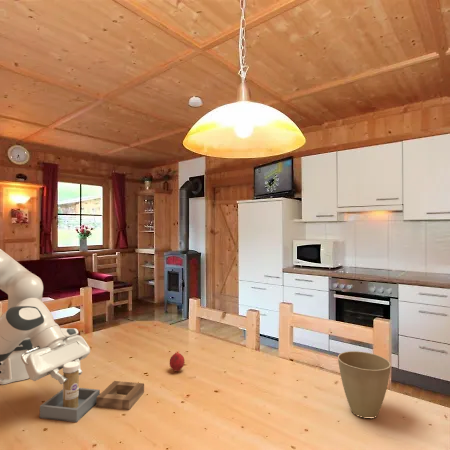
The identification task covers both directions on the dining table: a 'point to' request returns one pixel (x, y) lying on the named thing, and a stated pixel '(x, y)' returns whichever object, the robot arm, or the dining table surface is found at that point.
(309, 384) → the dining table surface
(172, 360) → the onion
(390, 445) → the dining table surface
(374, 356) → the plant pot
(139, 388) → the collar block
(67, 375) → the sprinkles bottle
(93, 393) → the tray
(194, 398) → the dining table surface
